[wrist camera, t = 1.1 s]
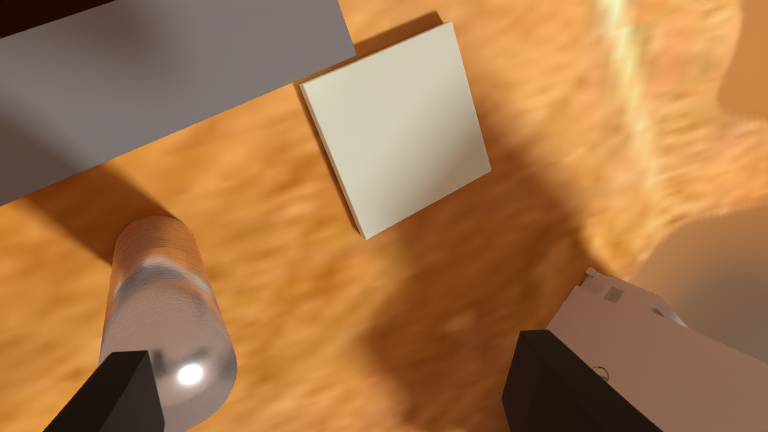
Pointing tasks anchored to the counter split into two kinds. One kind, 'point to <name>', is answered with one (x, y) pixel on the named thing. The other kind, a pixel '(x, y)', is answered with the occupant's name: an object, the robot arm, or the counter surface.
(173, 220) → the shiny metal cylinder
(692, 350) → the circuit breaker
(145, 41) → the box
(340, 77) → the pad
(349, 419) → the counter surface
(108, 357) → the robot arm
